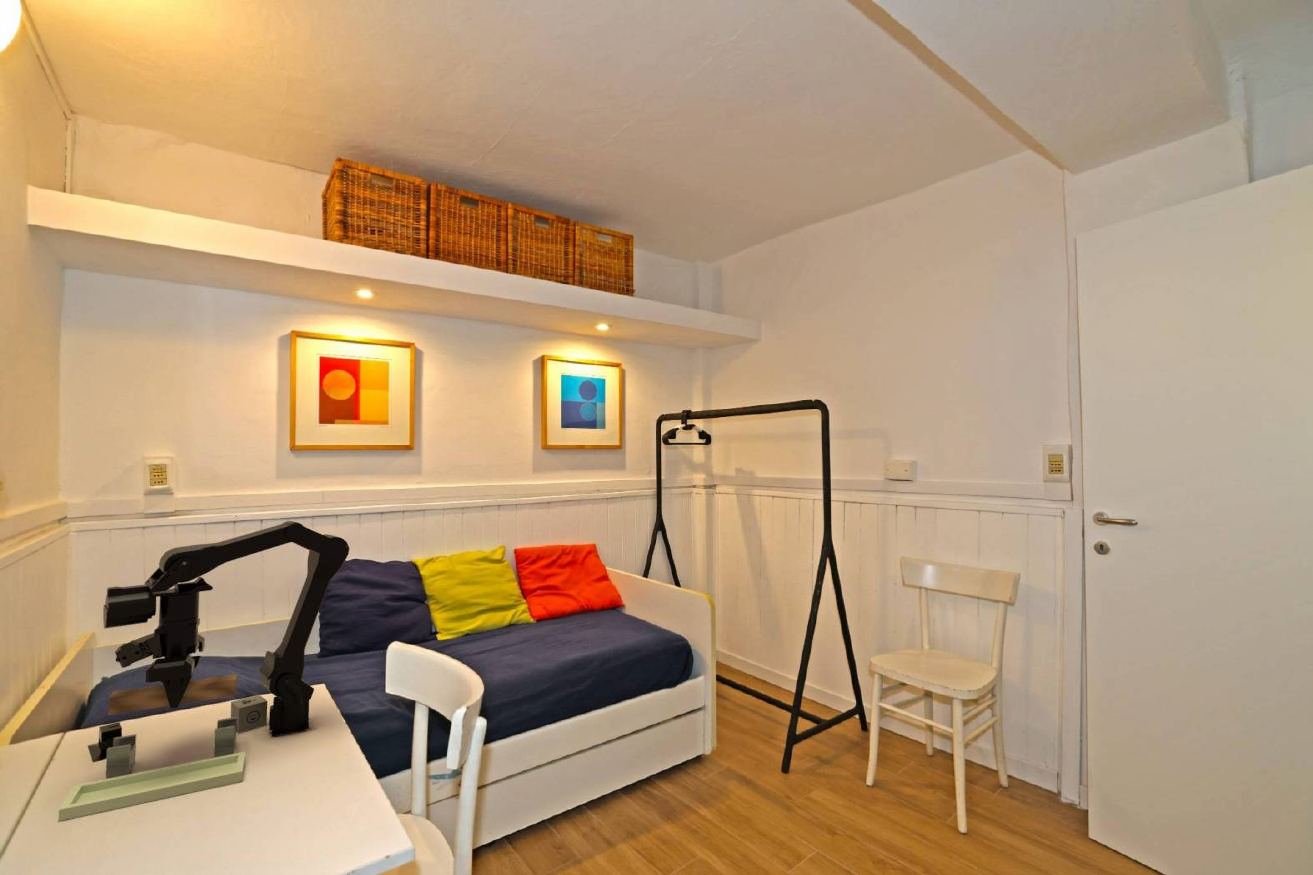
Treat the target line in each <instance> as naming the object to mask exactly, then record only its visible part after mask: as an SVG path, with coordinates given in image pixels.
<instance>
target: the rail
mask: <svg viewBox="0 0 1313 875" xmlns="http://www.w3.org/2000/svg"><path fill="white" fill-rule="evenodd" d="M237 677H238V674H237V673H235V674H230V675H229V674H227V675H223V676H215V677H208V678H201V679H194V680H193V679H192V680H190V682H189V684H188V686H187V689H186V691H185V693H184V695H183V697H182V699H181V702H180V704H179V705H181V704H182V705H183V704H188V703H189V704H190V703H194V702H201V701H202V702H203V701H207V700H214V699H215V700H216V699H222V698H227V697H234V696H236V693H237V685H238V684H237V680H238V678H237ZM163 707H170V705H169V702H168V698H167V695H166V691H165V688H164V685H163V684H158V685H152V686H150V685H149V686H144V687H138V688H136V687H135V688H129V689H123V690H122V689H121V690H115V691H112V693H111V695H110V696H109V697H108V716H113V715H117V714H124V713H130V712H137V711H144V710H150V709H156V708H157V709H158V708H163Z"/></svg>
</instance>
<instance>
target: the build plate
mask: <svg viewBox="0 0 1313 875" xmlns="http://www.w3.org/2000/svg"><path fill="white" fill-rule="evenodd" d="M122 736H123V728H122V725H121V723H120V721H118V722H115V723H110V724H106V725H101V726H99V727H98V742H96V743H93V744H92V743H91V744H89V745H87V748H88V751H89V754H90V758H91V761H92V763H96V762H99V761H104V760H107V759H106V757H107V749H108V748H111V747H113V739H114V738H116V737H122Z"/></svg>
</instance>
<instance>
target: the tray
mask: <svg viewBox="0 0 1313 875" xmlns="http://www.w3.org/2000/svg"><path fill="white" fill-rule="evenodd" d="M246 754H247V752H246V751H241V752H237V753H235V752H234V754H230V755H225V756H220V757H215V758H214V757H210V758H205V759H201V760H195V761H191V762H186V763H182V764H176V765H171V766H165V767H161V768H154V769H150V770H144V771H140V772H135V773H130V774H129V775H124V776H119V777H114V778H109V779H106V778H104V779H100V780H94V781H88V782H85V783H79V784H75V785H74V786H73V787H72V789H71V791H70V792H69V794H68V796H67V797H66V798H65V799H64V801H63V803H62V805H61V806H60V807H59V809H58V822H61V821H67V820H71V819H75V818H76V819H77V818H81V817H85V816H89V815H94V814H97V813H98V814H99V813H102V812H107V811H113V810H117V809H121V808H122V809H123V808H126V807H130V806H131V807H132V806H136V805H140V804H145V803H149V802H154V801H158V800H164V799H167V798H168V799H169V798H171V797H176V796H177V797H178V796H180V795H182V796H183V795H185V794H191V793H195V792H200V791H204V790H208V789H213V788H218V787H223V786H228V785H232V784H236V783H242V782H243V777H244V771H245V765H246V758H247V757H246Z"/></svg>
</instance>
